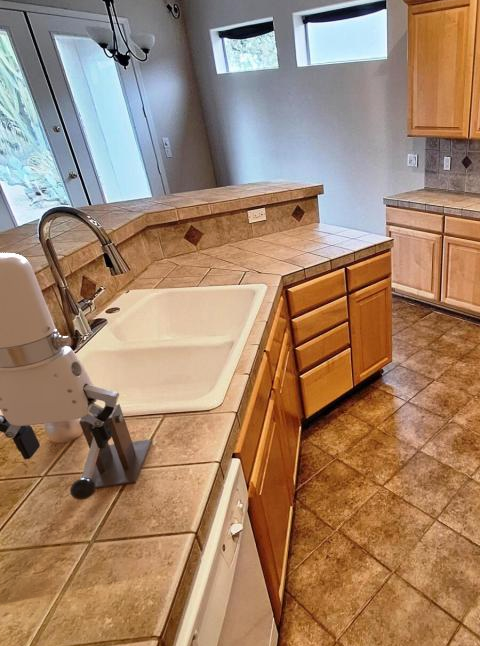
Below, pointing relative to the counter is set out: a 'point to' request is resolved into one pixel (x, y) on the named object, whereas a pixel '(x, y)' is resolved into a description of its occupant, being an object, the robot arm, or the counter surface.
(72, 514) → the counter surface
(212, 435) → the counter surface
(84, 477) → the tap lever
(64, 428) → the plastic bottle
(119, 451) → the bracket
